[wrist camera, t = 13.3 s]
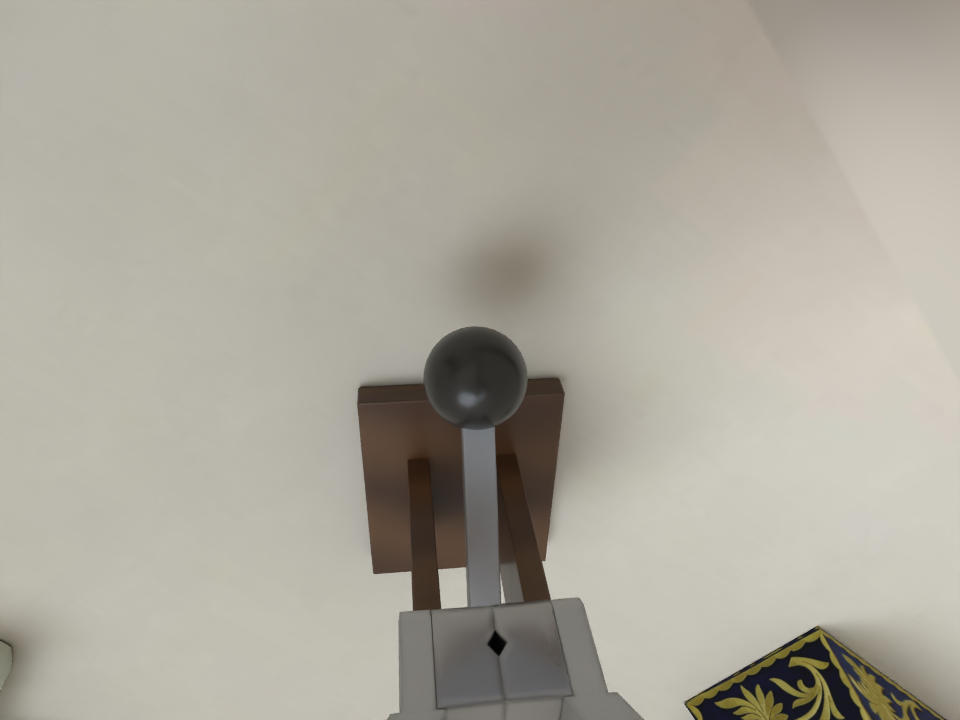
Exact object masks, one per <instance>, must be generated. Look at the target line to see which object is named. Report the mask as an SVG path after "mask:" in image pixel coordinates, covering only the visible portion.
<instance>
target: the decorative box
mask: <svg viewBox="0 0 960 720" xmlns="http://www.w3.org/2000/svg"><path fill="white" fill-rule="evenodd" d="M684 704H685V705H686V707H687V708H688V710H689V711H690V713H691V714H692V716H693V717H694V719H695V720H945V719H944V718H943V717H941V716H940V715H938V714H937V713H936V712H934V711H933V710H932V709H930V708H929V707H927V706H926V705H925V704H923V703H922V702H921V701H919V700H918V699H916V698H915V697H914V696H912V695H911V694H909V693H908V692H907V691H905V690H904V689H903V688H901V687H900V686H898V685H897V684H896V683H894V682H893V681H892V680H890V679H889V678H887V677H886V676H885V675H883V674H882V673H881V672H879V671H878V670H876V669H875V668H874V667H872V666H871V665H870V664H868V663H867V662H865V661H864V660H863V659H861V658H860V657H859V656H857V655H856V654H854V653H853V652H852V651H850V650H849V649H848V648H846V647H845V646H843V645H842V644H841V643H839V642H838V641H837V640H835V639H834V638H832V637H831V636H830V635H828V634H827V633H826V632H824V631H823V630H821V629H820V628H819V627H816V628H815V629H813V630H811V631H809V632H808V633H806V634H804V635H803V636H801V637H799V638H797V639H796V640H794V641H792V642H790V643H789V644H787V645H785V646H783V647H782V648H780V649H778V650H776V651H775V652H773V653H771V654H770V655H768V656H766V657H764V658H763V659H761V660H759V661H757V662H756V663H754V664H752V665H750V666H749V667H747V668H745V669H743V670H742V671H740V672H738V673H736V674H735V675H733V676H731V677H730V678H728V679H726V680H724V681H723V682H721V683H719V684H717V685H716V686H714V687H712V688H710V689H709V690H707V691H705V692H703V693H702V694H700V695H698V696H696V697H695V698H693V699H691V700H690V701H688V702H686V703H684Z"/></svg>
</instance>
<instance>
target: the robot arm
mask: <svg viewBox="0 0 960 720" xmlns="http://www.w3.org/2000/svg"><path fill="white" fill-rule="evenodd" d="M399 708H400V713H395V714H390V715H389V717H388V719H387V720H644V719H643V718H642V717H641V716H640V715H639V714H638V713H637V712H636V711H635V710H634V709H633V708H632V707H631V706H630V705H629V704H628V703H627V702H626V701H625V700H624V699H623V698H622V697H621V696H620V695H619V694H618V693H617V692H614V693H608V690H607V686H606V683H605V679H604V676H603V672H602V668H601V665H600V661H599V658H598V654H597V650H596V647H595V643H594V640H593V636H592V632H591V629H590V625H589V622H588V618H587V615H586V611H585V607H584V604H583V602H582V601H581V600H580V598H578V597H575V598H565V599H555V600H548V599H545V600H535V601H524V602H514V603H504V604H494V605H490V606H479V607H465V608H450V609H436V610H431V612H430V610H418V611H406V612H400V614H399Z"/></svg>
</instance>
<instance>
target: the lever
mask: <svg viewBox="0 0 960 720" xmlns="http://www.w3.org/2000/svg"><path fill="white" fill-rule="evenodd" d="M527 381H528V375H527V368H526V364H525V361H524V358H523V356H522V354H521V352H520V350H519V349H518V348H517V346H516V345H515V344H514V343H513V342H512V341H511V340H510V339H509V338H508V337H506V336H505V335H503V334H502V333H500V332H498V331H496V330H493V329H490V328H486V327H477V326H473V327H465V328H461V329H458V330H456V331H453V332H451V333H450V334H448V335H446V336H445V337H444V338H442V339H441V340H440V341H439V342H438V343H437V344H436V346H435V347H434V348H433V349H432V351H431V353H430V354H429V357H428V359H427V361H426V365H425V369H424V388H425V393H426V396H427V398H428V401H429V403H430V404H431V406H432V408H433V409H434V410H435V412H436V413H437V414H438V415H439V416H440V417H441V418H442V419H444V420H445V421H446V422H448V423H450V424H451V425H453V426H456V427H458V428H461V448H462V474H463V500H464V526H465V552H466V578H467V604H468V607H479V606H490V605H494V604H501V587H500V559H499V531H498V503H497V475H496V447H495V426H498V425H500V424H502V423H503V422H505V421H506V420H507V419H509V418H510V417H511V416H512V415H513V414H514V413H515V412H516V411H517V409H518V408H519V406H520V405H521V403H522V401H523V399H524V396H525V393H526V389H527Z"/></svg>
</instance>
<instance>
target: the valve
mask: <svg viewBox="0 0 960 720" xmlns="http://www.w3.org/2000/svg"><path fill="white" fill-rule="evenodd" d="M11 668H12V650H11V647H10V646H8V645H7V644H5V643H3V642H2V641H0V691H1V689H2V687H3V685H4V683H5V681H6V679H7V677H8V675H9V673H10V670H11Z"/></svg>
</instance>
